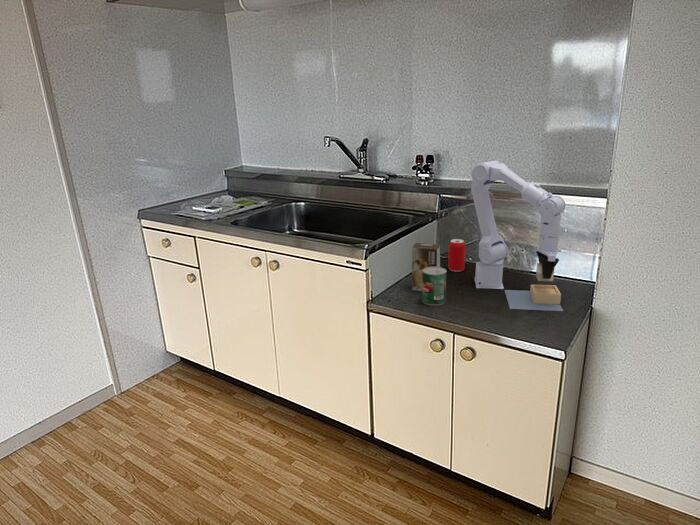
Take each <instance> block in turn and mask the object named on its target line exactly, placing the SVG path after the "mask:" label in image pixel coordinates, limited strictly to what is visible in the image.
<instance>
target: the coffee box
mask: <svg viewBox="0 0 700 525" xmlns="http://www.w3.org/2000/svg"><path fill="white" fill-rule="evenodd" d="M426 267H441V244H437V243H436V244H435V243H425V242H423V243H422V242H415V244H413V247H411V286H412V287H411V290H412V291H418V292H422V277H423V276H422V275H423V271H422V270H423V269H424V268H426Z"/></svg>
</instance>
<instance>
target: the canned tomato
mask: <svg viewBox="0 0 700 525" xmlns="http://www.w3.org/2000/svg"><path fill="white" fill-rule="evenodd" d="M422 271H423V275H422V276H423V277H422V291H421V302H422V303H423V304H424V305H428V306H433V307H434V306H441V305H444V304H445V303H446V302H447V301H446V298H447V272H448V271H447V269H446V268H444V267H442V266H440V267H426V268H424V269H423V270H422Z"/></svg>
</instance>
